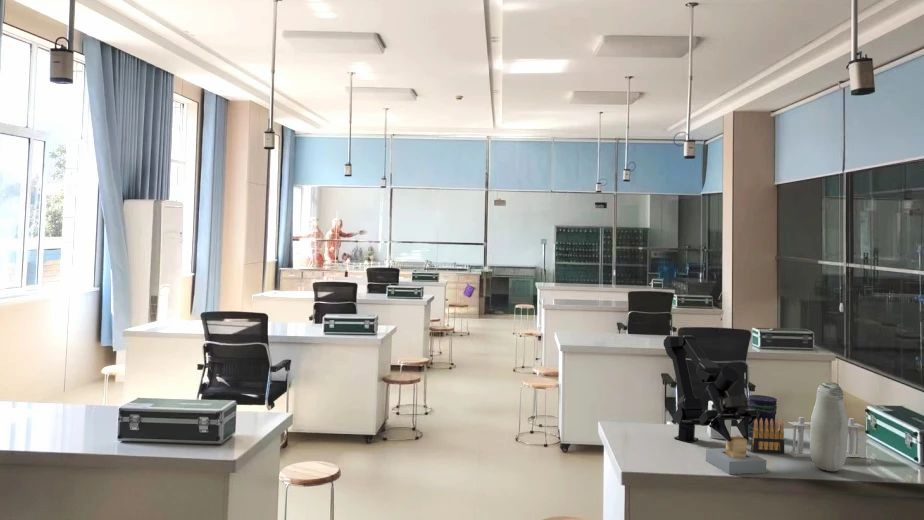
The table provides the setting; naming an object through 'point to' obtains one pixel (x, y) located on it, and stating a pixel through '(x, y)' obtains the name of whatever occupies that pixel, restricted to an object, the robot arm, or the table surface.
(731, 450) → the peg
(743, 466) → the socket
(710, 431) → the supplement box
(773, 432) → the ammunition clip
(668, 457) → the table surface
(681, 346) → the robot arm
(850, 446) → the test tube rack
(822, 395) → the white bottle
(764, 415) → the storage jar
